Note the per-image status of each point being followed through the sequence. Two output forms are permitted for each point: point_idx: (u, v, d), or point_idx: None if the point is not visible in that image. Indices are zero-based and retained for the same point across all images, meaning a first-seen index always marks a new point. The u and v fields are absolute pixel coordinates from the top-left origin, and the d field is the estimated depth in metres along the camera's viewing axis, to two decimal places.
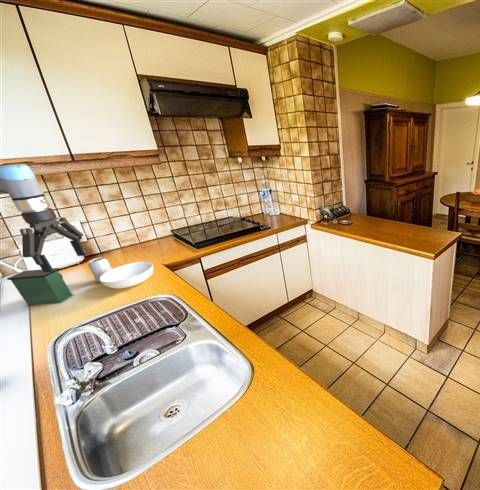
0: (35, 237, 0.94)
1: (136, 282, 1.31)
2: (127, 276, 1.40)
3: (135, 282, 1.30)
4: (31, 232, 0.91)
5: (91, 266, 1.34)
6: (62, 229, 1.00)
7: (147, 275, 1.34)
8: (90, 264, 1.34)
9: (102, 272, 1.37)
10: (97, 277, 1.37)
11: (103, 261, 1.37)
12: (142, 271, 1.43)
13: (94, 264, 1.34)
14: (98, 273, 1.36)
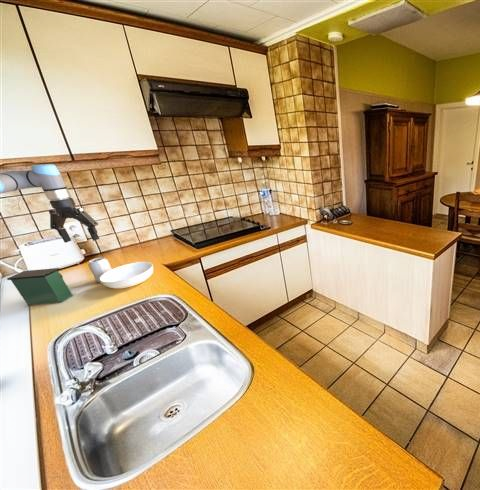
0: (77, 216, 1.26)
1: (136, 282, 1.31)
2: (127, 276, 1.40)
3: (135, 282, 1.30)
4: None
5: (91, 266, 1.34)
6: None
7: (147, 275, 1.34)
8: (90, 264, 1.34)
9: (102, 272, 1.37)
10: (97, 277, 1.37)
11: (103, 261, 1.37)
12: (142, 271, 1.43)
13: (94, 264, 1.34)
14: (98, 273, 1.36)
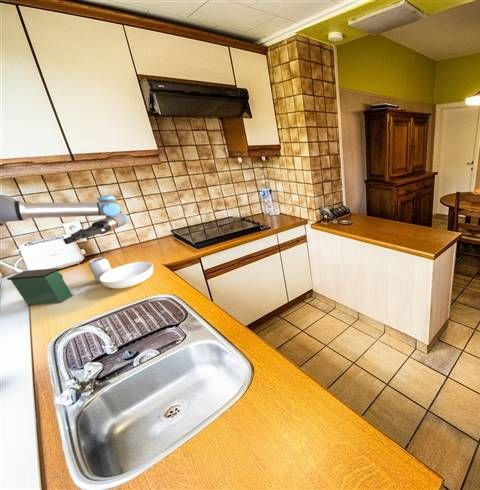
0: (91, 230, 1.46)
1: (136, 282, 1.31)
2: (127, 276, 1.40)
3: (135, 282, 1.30)
4: None
5: (91, 266, 1.34)
6: None
7: (147, 275, 1.34)
8: (90, 264, 1.34)
9: (102, 272, 1.37)
10: (97, 277, 1.37)
11: (103, 261, 1.37)
12: (142, 271, 1.43)
13: (94, 264, 1.34)
14: (98, 273, 1.36)
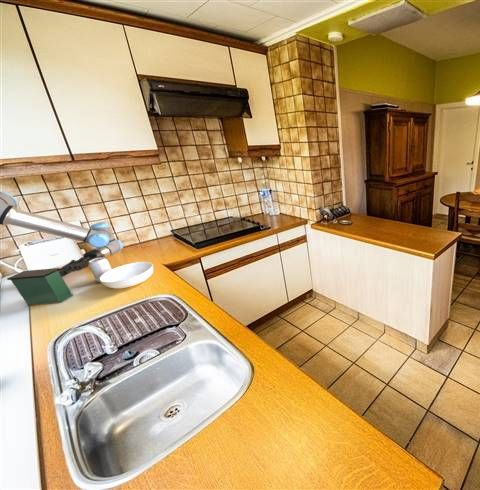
0: (84, 261, 1.40)
1: (136, 282, 1.31)
2: (127, 276, 1.40)
3: (135, 282, 1.30)
4: None
5: (91, 266, 1.34)
6: None
7: (147, 275, 1.34)
8: (90, 264, 1.34)
9: (102, 272, 1.37)
10: (97, 277, 1.37)
11: (103, 261, 1.37)
12: (142, 271, 1.43)
13: (94, 264, 1.34)
14: (98, 273, 1.36)
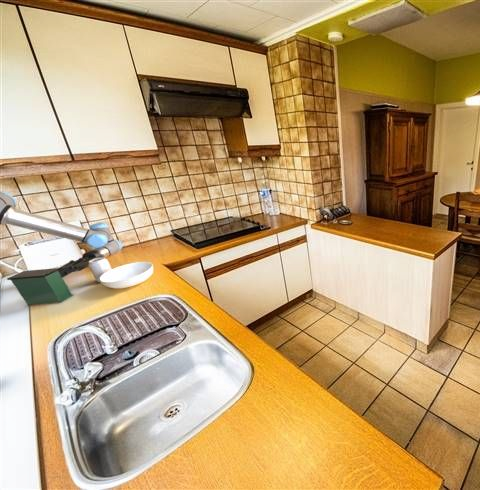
0: (83, 262, 1.39)
1: (136, 282, 1.31)
2: (127, 276, 1.40)
3: (135, 282, 1.30)
4: None
5: (91, 266, 1.34)
6: None
7: (147, 275, 1.34)
8: (90, 264, 1.34)
9: (102, 272, 1.37)
10: (97, 277, 1.37)
11: (103, 261, 1.37)
12: (142, 271, 1.43)
13: (94, 264, 1.34)
14: (98, 273, 1.36)
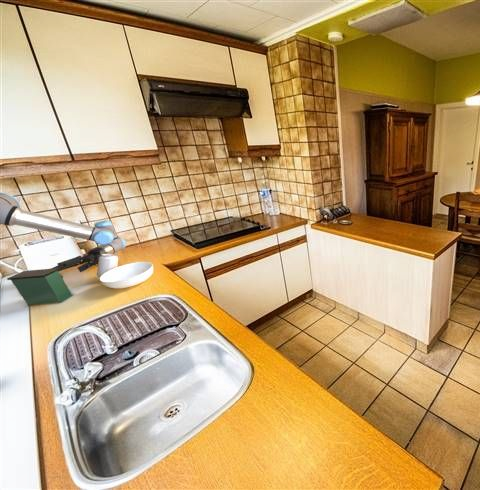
0: (94, 258, 1.43)
1: (136, 282, 1.31)
2: (127, 276, 1.40)
3: (135, 282, 1.30)
4: None
5: (101, 259, 1.37)
6: None
7: (147, 275, 1.34)
8: (102, 257, 1.37)
9: (108, 267, 1.38)
10: (100, 271, 1.37)
11: (115, 257, 1.40)
12: (142, 271, 1.43)
13: (105, 257, 1.37)
14: (103, 267, 1.37)
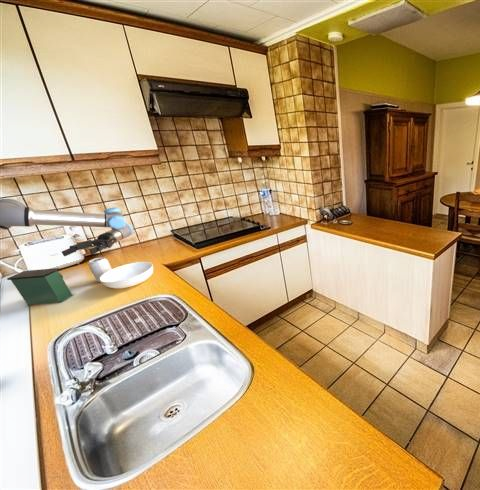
0: (104, 241, 1.50)
1: (136, 282, 1.31)
2: (127, 276, 1.40)
3: (135, 282, 1.30)
4: None
5: (91, 266, 1.34)
6: None
7: (147, 275, 1.34)
8: (90, 264, 1.34)
9: (102, 272, 1.37)
10: (97, 277, 1.37)
11: (103, 261, 1.37)
12: (142, 271, 1.43)
13: (94, 264, 1.34)
14: (98, 273, 1.36)
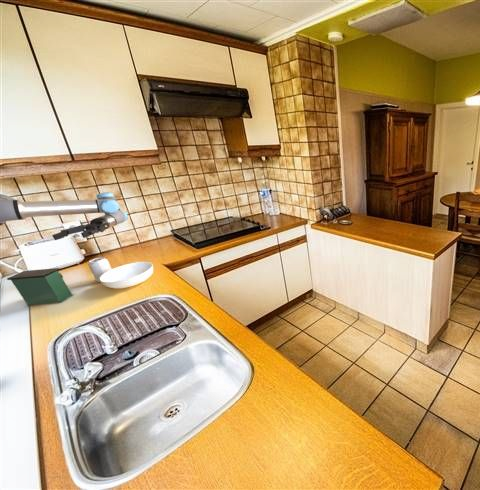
0: (96, 226, 1.46)
1: (136, 282, 1.31)
2: (127, 276, 1.40)
3: (135, 282, 1.30)
4: None
5: (91, 266, 1.34)
6: None
7: (147, 275, 1.34)
8: (90, 264, 1.34)
9: (102, 272, 1.37)
10: (97, 277, 1.37)
11: (103, 261, 1.37)
12: (142, 271, 1.43)
13: (94, 264, 1.34)
14: (98, 273, 1.36)
